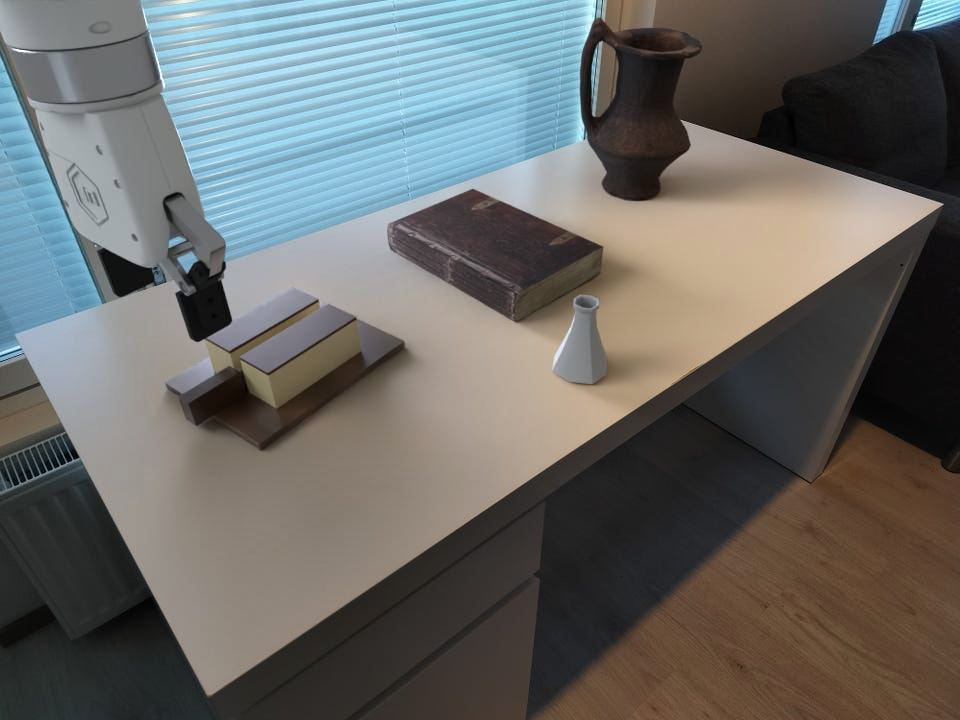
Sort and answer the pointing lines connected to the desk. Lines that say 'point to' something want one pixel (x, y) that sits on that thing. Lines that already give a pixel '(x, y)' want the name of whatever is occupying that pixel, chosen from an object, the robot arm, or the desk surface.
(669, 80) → the jug
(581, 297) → the flask
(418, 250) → the hardback book
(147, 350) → the desk surface
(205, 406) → the knife
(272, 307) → the cake
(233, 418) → the cake board
